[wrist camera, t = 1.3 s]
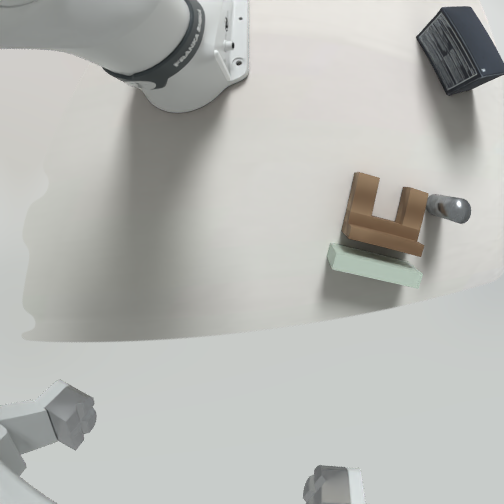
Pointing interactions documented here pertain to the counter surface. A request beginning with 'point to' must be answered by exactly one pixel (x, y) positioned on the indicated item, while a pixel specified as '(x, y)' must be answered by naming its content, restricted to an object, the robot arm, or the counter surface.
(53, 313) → the counter surface
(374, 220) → the block
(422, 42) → the small box
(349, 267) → the wall
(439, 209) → the dowel
